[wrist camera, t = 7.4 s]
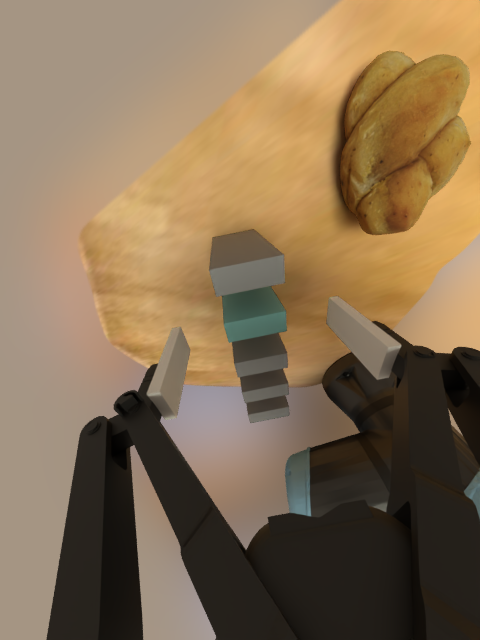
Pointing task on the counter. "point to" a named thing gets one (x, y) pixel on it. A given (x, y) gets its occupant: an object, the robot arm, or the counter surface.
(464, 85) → the bread roll
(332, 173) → the counter surface
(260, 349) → the domino
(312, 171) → the counter surface
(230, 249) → the end domino
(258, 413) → the domino
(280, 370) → the domino
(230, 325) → the teal domino
